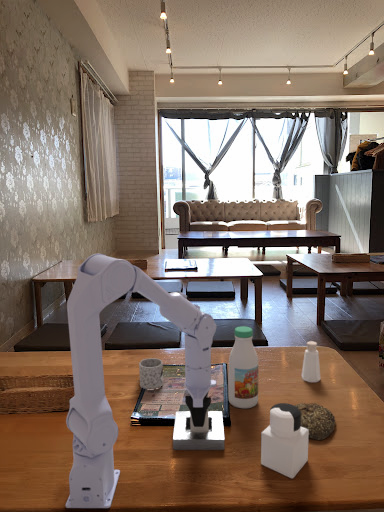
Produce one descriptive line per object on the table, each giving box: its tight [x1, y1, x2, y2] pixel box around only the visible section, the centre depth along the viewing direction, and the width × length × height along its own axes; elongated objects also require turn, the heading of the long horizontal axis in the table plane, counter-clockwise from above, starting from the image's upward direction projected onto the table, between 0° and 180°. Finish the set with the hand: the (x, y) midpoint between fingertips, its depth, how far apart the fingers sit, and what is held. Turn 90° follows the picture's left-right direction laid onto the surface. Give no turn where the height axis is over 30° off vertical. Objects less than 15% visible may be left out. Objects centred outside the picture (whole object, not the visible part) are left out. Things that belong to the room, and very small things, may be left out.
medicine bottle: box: [260, 402, 309, 479], centre depth 82 cm, size 7×7×12 cm
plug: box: [190, 408, 209, 432], centre depth 92 cm, size 4×4×6 cm
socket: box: [172, 410, 225, 451], centre depth 93 cm, size 11×11×2 cm
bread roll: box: [294, 402, 336, 441], centre depth 97 cm, size 13×12×5 cm
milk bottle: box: [227, 325, 259, 409], centre depth 106 cm, size 8×8×20 cm
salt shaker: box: [300, 340, 321, 383], centre depth 119 cm, size 5×5×11 cm
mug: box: [138, 357, 164, 389], centre depth 118 cm, size 10×7×7 cm
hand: (198, 420), depth 93 cm, fingers closed on plug, 4 cm apart
